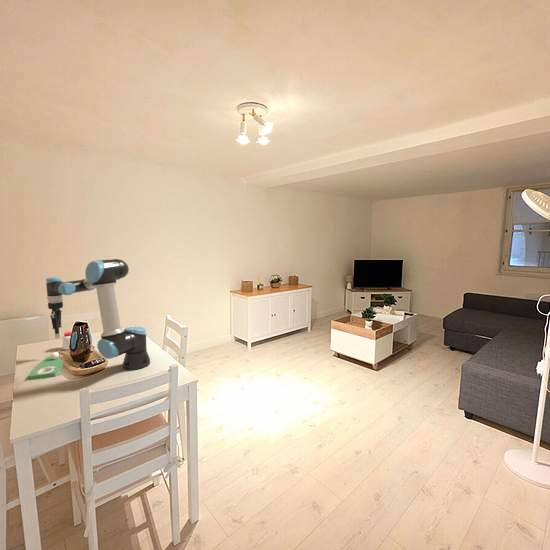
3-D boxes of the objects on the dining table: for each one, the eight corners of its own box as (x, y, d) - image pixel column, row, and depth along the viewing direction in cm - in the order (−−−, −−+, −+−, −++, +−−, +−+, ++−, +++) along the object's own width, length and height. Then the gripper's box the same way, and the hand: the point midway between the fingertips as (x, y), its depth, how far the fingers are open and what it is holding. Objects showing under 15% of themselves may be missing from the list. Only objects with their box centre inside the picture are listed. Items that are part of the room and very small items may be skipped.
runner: (69, 357, 192) (69, 354, 192) (55, 376, 166) (54, 372, 166) (46, 359, 188) (46, 356, 188) (28, 379, 162) (28, 376, 162)
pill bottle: (78, 348, 207) (77, 332, 206) (64, 351, 202) (63, 335, 200) (75, 345, 213) (73, 330, 211) (61, 348, 207) (60, 332, 206)
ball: (60, 357, 187) (59, 350, 186) (58, 359, 183) (57, 353, 182) (51, 358, 185) (51, 351, 185) (49, 360, 181) (48, 353, 181)
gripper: (51, 300, 193) (54, 335, 196) (44, 304, 181) (47, 342, 184) (65, 299, 195) (67, 334, 199) (59, 303, 183) (61, 341, 187)
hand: (58, 338), depth 191 cm, fingers closed
